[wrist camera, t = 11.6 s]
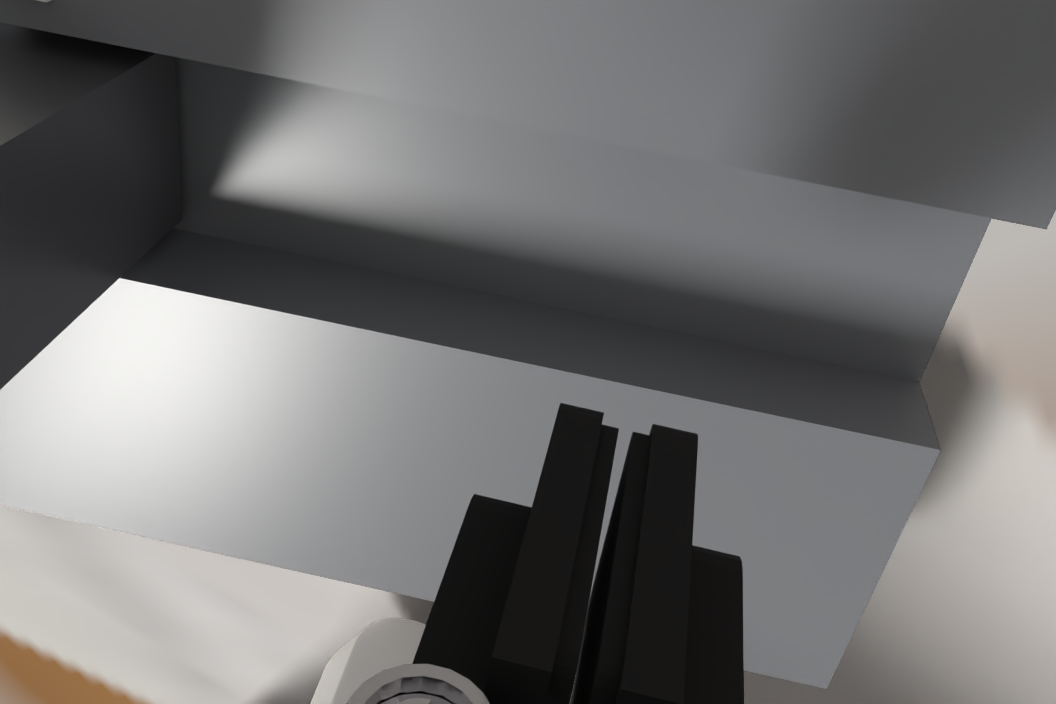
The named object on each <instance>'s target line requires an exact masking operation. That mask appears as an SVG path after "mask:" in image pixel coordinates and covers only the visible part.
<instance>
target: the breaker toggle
mask: <svg viewBox="0 0 1056 704" xmlns="http://www.w3.org/2000/svg"><path fill="white" fill-rule="evenodd" d="M181 220H182V200H181V179H180V157H179V135H178V114H177V92H176V70H175V57H173V56H168V55H163V54H158V53H153V52H148V51H143V50H137V49H132V48H127V47H122V46H117V45H112V44H107V43H102V42H97V41H92V40H87V39H82V38H77V37H72V36H67V35H62V34H57V33H52V32H46V31H41V30H36V29H31V28H26V27H21V26H16V25H11V24H6V23H1V22H0V390H1V389H2V388H3V387H4V386H5V385H6V384H7V383H8V382H9V381H10V380H11V379H12V378H13V377H14V376H15V375H17V374H18V373H19V372H20V371H21V370H22V369H23V368H24V367H25V366H26V365H27V364H28V363H29V362H30V361H32V360H33V359H34V358H35V357H36V356H37V355H38V354H39V353H40V352H41V351H42V350H43V349H44V348H45V347H46V346H48V345H49V344H50V343H51V342H52V341H53V340H54V339H55V338H56V337H57V336H58V335H59V334H60V333H61V332H62V331H64V330H65V329H66V328H67V327H68V326H69V325H70V324H71V323H72V322H73V321H74V320H75V319H76V318H77V317H78V316H80V315H81V314H82V313H83V312H84V311H85V310H86V309H87V308H88V307H89V306H90V305H91V304H92V303H93V302H94V301H96V300H97V299H98V298H99V297H100V296H101V295H102V294H103V293H104V292H105V291H106V290H107V289H108V288H109V287H110V286H112V285H113V284H114V283H115V282H116V281H117V280H118V279H119V278H120V277H121V276H122V275H123V274H124V273H125V272H126V271H128V270H129V269H130V268H131V267H132V266H133V265H134V264H135V263H136V262H137V261H138V260H139V259H140V258H141V257H142V256H144V255H145V254H146V253H147V252H148V251H149V250H150V249H151V248H152V247H153V246H154V245H155V244H156V243H157V242H158V241H160V240H161V239H162V238H163V237H164V236H165V235H166V234H167V233H168V232H169V231H170V230H171V229H172V228H173V227H175V226H176V225H177V224H178V223H179V222H180V221H181Z"/></svg>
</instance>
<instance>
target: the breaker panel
mask: <svg viewBox="0 0 1056 704" xmlns="http://www.w3.org/2000/svg"><path fill="white" fill-rule="evenodd" d="M0 22H1V23H6V24H11V25H16V26H21V27H26V28H31V29H36V30H41V31H46V32H52V33H57V34H62V35H67V36H72V37H77V38H82V39H87V40H92V41H97V42H102V43H107V44H112V45H117V46H122V47H127V48H132V49H137V50H143V51H148V52H153V53H158V54H163V55H168V56H173V57H175V70H176V92H177V114H178V135H179V157H180V179H181V200H182V220H181V221H180V222H179V223H178V224H177V225H176V226H175V227H173V228H172V229H171V230H170V231H169V232H168V233H167V234H166V235H165V236H164V237H163V238H162V239H161V240H160V241H158V242H157V243H156V244H155V245H154V246H153V247H152V248H151V249H150V250H149V251H148V252H147V253H146V254H145V255H144V256H142V257H141V258H140V259H139V260H138V261H137V262H136V263H135V264H134V265H133V266H132V267H131V268H130V269H129V270H128V271H126V272H125V273H124V274H123V275H122V276H121V277H120V278H119V279H118V280H117V281H116V282H115V283H114V284H113V285H112V286H110V287H109V288H108V289H107V290H106V291H105V292H104V293H103V294H102V295H101V296H100V297H99V298H98V299H97V300H96V301H94V302H93V303H92V304H91V305H90V306H89V307H88V308H87V309H86V310H85V311H84V312H83V313H82V314H81V315H80V316H78V317H77V318H76V319H75V320H74V321H73V322H72V323H71V324H70V325H69V326H68V327H67V328H66V329H65V330H64V331H62V332H61V333H60V334H59V335H58V336H57V337H56V338H55V339H54V340H53V341H52V342H51V343H50V344H49V345H48V346H46V347H45V348H44V349H43V350H42V351H41V352H40V353H39V354H38V355H37V356H36V357H35V358H34V359H33V360H32V361H30V362H29V363H28V364H27V365H26V366H25V367H24V368H23V369H22V370H21V371H20V372H19V373H18V374H17V375H15V376H14V377H13V378H12V379H11V380H10V381H9V382H8V383H7V384H6V385H5V386H4V387H3V388H2V389H1V390H0V505H1V506H5V507H10V508H14V509H19V510H23V511H28V512H32V513H37V514H41V515H46V516H50V517H55V518H59V519H64V520H68V521H73V522H77V523H82V524H86V525H91V526H95V527H100V528H104V529H109V530H113V531H118V532H122V533H127V534H131V535H136V536H140V537H145V538H149V539H154V540H158V541H163V542H167V543H172V544H176V545H181V546H185V547H190V548H194V549H199V550H203V551H208V552H212V553H217V554H221V555H226V556H230V557H235V558H239V559H244V560H248V561H253V562H257V563H262V564H266V565H271V566H275V567H280V568H284V569H289V570H293V571H298V572H302V573H307V574H311V575H316V576H320V577H325V578H329V579H334V580H338V581H343V582H347V583H352V584H356V585H361V586H365V587H370V588H374V589H379V590H383V591H388V592H392V593H397V594H401V595H406V596H410V597H415V598H419V599H424V600H428V601H433V602H434V601H435V598H436V595H437V593H438V590H439V587H440V584H441V581H442V579H443V576H444V573H445V570H446V567H447V565H448V562H449V559H450V556H451V553H452V551H453V548H454V545H455V542H456V539H457V537H458V534H459V531H460V528H461V525H462V522H463V520H464V517H465V514H466V511H467V508H468V506H469V503H470V501H471V498H472V496H473V495H474V494H477V495H481V496H486V497H490V498H494V499H498V500H503V501H507V502H511V503H515V504H520V505H524V506H528V507H532V505H533V501H534V497H535V494H536V490H537V486H538V483H539V479H540V475H541V472H542V468H543V464H544V461H545V457H546V453H547V450H548V446H549V442H550V438H551V435H552V431H553V427H554V424H555V420H556V416H557V413H558V409H559V406H560V403H564V404H568V405H573V406H577V407H582V408H586V409H590V410H595V411H599V412H604V415H603V421H602V425H607V426H611V427H615V428H619V431H618V437H617V443H616V449H615V455H614V460H613V466H612V472H611V478H610V483H609V489H608V495H607V501H606V506H605V512H604V518H603V524H602V529H601V535H600V541H599V547H598V552H597V558H596V564H595V570H594V575H593V581H592V587H591V592H592V588H593V584H594V580H595V576H596V572H597V568H598V564H599V560H600V556H601V552H602V549H603V545H604V541H605V537H606V533H607V529H608V525H609V521H610V517H611V513H612V509H613V506H614V502H615V498H616V494H617V490H618V486H619V482H620V478H621V474H622V470H623V467H624V463H625V459H626V455H627V451H628V447H629V443H630V439H631V436H632V433H633V432H637V433H642V434H646V435H649V433H650V430H651V427H652V425H653V424H656V425H661V426H665V427H670V428H674V429H678V430H683V431H687V432H692V433H696V434H698V451H697V469H696V487H695V505H694V523H693V541H692V545H694V546H698V547H702V548H706V549H711V550H715V551H719V552H723V553H728V554H732V555H736V556H740V558H741V560H742V568H743V662H744V671H748V672H752V673H757V674H761V675H766V676H770V677H775V678H779V679H784V680H788V681H793V682H797V683H802V684H806V685H811V686H815V687H820V688H824V689H827V687H828V685H829V683H830V681H831V679H832V677H833V675H834V673H835V671H836V669H837V666H838V664H839V662H840V660H841V658H842V656H843V654H844V652H845V650H846V648H847V646H848V643H849V641H850V639H851V637H852V635H853V633H854V631H855V629H856V627H857V625H858V623H859V620H860V618H861V616H862V614H863V612H864V610H865V608H866V606H867V604H868V602H869V599H870V597H871V595H872V593H873V591H874V589H875V587H876V585H877V583H878V581H879V579H880V576H881V574H882V572H883V570H884V568H885V566H886V564H887V562H888V560H889V558H890V556H891V553H892V551H893V549H894V547H895V545H896V543H897V541H898V539H899V537H900V535H901V532H902V530H903V528H904V526H905V524H906V522H907V520H908V518H909V516H910V514H911V512H912V509H913V507H914V505H915V503H916V501H917V499H918V497H919V495H920V493H921V491H922V489H923V486H924V484H925V482H926V480H927V478H928V476H929V474H930V472H931V470H932V468H933V465H934V463H935V461H936V459H937V457H938V455H939V453H940V451H941V449H940V446H939V443H938V440H937V437H936V433H935V430H934V427H933V424H932V421H931V418H930V415H929V412H928V409H927V405H926V402H925V399H924V396H923V393H922V390H921V387H920V384H919V381H920V379H921V377H922V374H923V372H924V370H925V368H926V365H927V363H928V361H929V359H930V356H931V354H932V352H933V349H934V347H935V345H936V343H937V340H938V338H939V336H940V334H941V331H942V329H943V327H944V325H945V322H946V320H947V318H948V316H949V313H950V311H951V309H952V306H953V304H954V302H955V300H956V297H957V295H958V293H959V291H960V288H961V286H962V284H963V281H964V279H965V277H966V275H967V272H968V270H969V268H970V266H971V263H972V261H973V259H974V256H975V254H976V252H977V250H978V248H979V245H980V243H981V241H982V238H983V236H984V234H985V232H986V229H987V227H988V225H989V223H990V220H991V218H993V219H997V220H1002V221H1008V222H1012V223H1017V224H1023V225H1028V226H1033V227H1038V228H1043V229H1047V226H1048V224H1049V223H1050V220H1051V218H1052V216H1053V214H1054V212H1055V210H1056V0H0ZM590 596H591V593H590ZM589 600H590V598H589ZM588 605H589V604H588Z"/></svg>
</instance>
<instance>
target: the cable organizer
mask: <svg viewBox="0 0 1056 704" xmlns="http://www.w3.org/2000/svg"><path fill="white" fill-rule="evenodd" d="M425 626H426V624H423V623H420V622H418V621H414V620H409V619H404V618H389V619H382V620H379V621H376V622H374V623H372V624H370V625H369V626H367V627H365V628H364V629H363V630H362V631H361V632H359V633H358V634H357V635H356V636H355V637H353V638H352V639H351V640H350V641H349V642H347V643H346V644H345V645H344V646H343V647H341V648H340V649H339V650H338V651H337V652H336V653H335V654H334V655H333V656H332V657H331V658H330V659H329V661H328V663H327V665H326V667H325V669H324V671H323V674H322V676H321V679H320V681H319V684H318V686H317V688H316V691H315V693H314V696H313V698H312V701H311V703H310V704H346V703H347V701H348V700H349V698H350V697H351V696H352V695H353V694H354V692H355V691H356V690H357V689H358V688H359V687H360V686H361V684H362V683H363V682H364V681H366V680H368V679H369V678H371V677H373V676H374V675H376V674H377V673H379V672H381V671H382V670H385V669H389V668H393V667H396V666H400V665H403V664H412V663H413V660H414V657H415V654H416V652H417V649H418V646H419V643H420V640H421V638H422V635H423V632H424V629H425Z"/></svg>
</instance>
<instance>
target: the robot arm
mask: <svg viewBox="0 0 1056 704" xmlns="http://www.w3.org/2000/svg"><path fill="white" fill-rule="evenodd" d="M603 415H604V412H599V411H595V410H590V409H586V408H582V407H577V406H573V405H568V404H564V403H560V406H559V409H558V413H557V416H556V420H555V424H554V427H553V431H552V435H551V438H550V442H549V446H548V450H547V453H546V457H545V461H544V464H543V468H542V472H541V475H540V479H539V483H538V486H537V490H536V494H535V497H534V501H533V505H532V507H528V506H524V505H520V504H515V503H511V502H507V501H503V500H498V499H494V498H490V497H486V496H481V495H477V494H474V495H473V496H472V498H471V501H470V503H469V506H468V508H467V511H466V514H465V517H464V520H463V522H462V525H461V528H460V531H459V534H458V537H457V539H456V542H455V545H454V548H453V551H452V553H451V556H450V559H449V562H448V565H447V567H446V570H445V573H444V576H443V579H442V581H441V584H440V587H439V590H438V593H437V595H436V598H435V601H434V604H433V607H432V610H431V612H430V615H429V618H428V621H427V624H426V626H425V629H424V632H423V635H422V638H421V640H420V643H419V646H418V649H417V652H416V654H415V657H414V660H413V663H412V664H403V665H400V666H396V667H393V668H389V669H385V670H382V671H381V672H379V673H377V674H376V675H374V676H373V677H371V678H369V679H368V680H366V681H364V682H363V683H362V684H361V686H360V687H359V688H358V689H357V690H356V691H355V692H354V694H353V695H352V696H351V697H350V698H349V700H348V701H347V703H346V704H569V701H570V697H571V693H572V689H573V684H574V689H573V694H572V700H571V704H744V662H743V568H742V560H741V558H740V556H736V555H732V554H728V553H723V552H719V551H715V550H711V549H706V548H702V547H698V546H694V545H692V541H693V523H694V505H695V487H696V469H697V451H698V434H696V433H692V432H687V431H683V430H678V429H674V428H670V427H665V426H661V425H656V424H653V425H652V427H651V430H650V433H649V435H646V434H642V433H637V432H633V433H632V436H631V439H630V443H629V447H628V451H627V455H626V459H625V463H624V467H623V470H622V474H621V478H620V482H619V486H618V490H617V494H616V498H615V502H614V506H613V509H612V513H611V517H610V521H609V525H608V529H607V533H606V537H605V541H604V545H603V549H602V552H601V556H600V560H599V564H598V568H597V572H596V576H595V580H594V584H593V588H592V592H591V587H592V581H593V575H594V570H595V564H596V558H597V552H598V547H599V541H600V535H601V529H602V524H603V518H604V512H605V506H606V501H607V495H608V489H609V483H610V478H611V472H612V466H613V460H614V455H615V449H616V443H617V437H618V431H619V428H615V427H611V426H607V425H602V421H603ZM590 593H591V596H590ZM589 598H590V600H589ZM588 604H589V605H588ZM575 675H576V677H575ZM574 680H575V683H574Z"/></svg>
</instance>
